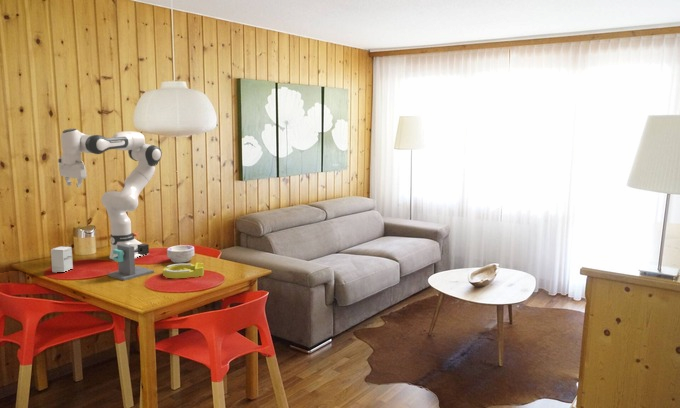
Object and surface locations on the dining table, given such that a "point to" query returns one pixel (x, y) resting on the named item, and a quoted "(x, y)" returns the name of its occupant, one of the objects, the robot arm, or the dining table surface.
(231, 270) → the dining table surface
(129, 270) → the bearing stand
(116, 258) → the teal flat block
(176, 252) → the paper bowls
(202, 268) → the ashtray
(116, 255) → the shaft
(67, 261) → the supplement box
